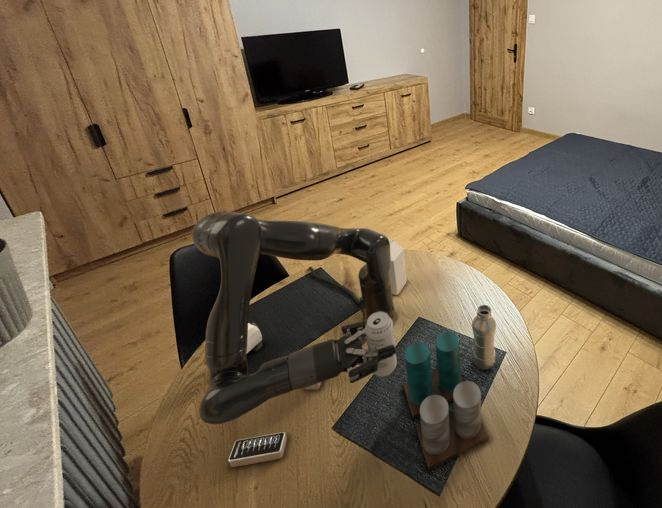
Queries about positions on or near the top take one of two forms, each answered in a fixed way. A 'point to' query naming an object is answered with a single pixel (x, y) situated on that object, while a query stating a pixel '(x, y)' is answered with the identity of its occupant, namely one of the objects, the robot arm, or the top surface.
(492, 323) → the plastic bottle
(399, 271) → the milk carton
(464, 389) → the tin rack
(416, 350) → the can rack
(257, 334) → the giant panda
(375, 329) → the energy drink can
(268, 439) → the white black flat block
